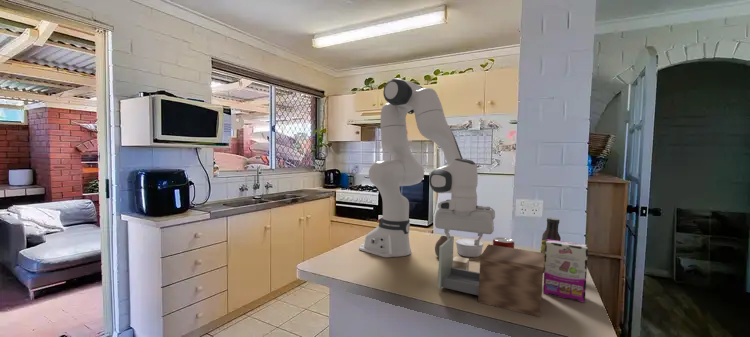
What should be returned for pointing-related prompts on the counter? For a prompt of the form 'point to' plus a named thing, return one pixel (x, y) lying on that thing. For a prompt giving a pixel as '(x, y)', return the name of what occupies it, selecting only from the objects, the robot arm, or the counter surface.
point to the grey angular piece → (455, 272)
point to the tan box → (511, 279)
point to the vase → (439, 243)
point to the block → (461, 263)
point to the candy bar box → (565, 269)
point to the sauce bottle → (550, 234)
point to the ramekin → (468, 248)
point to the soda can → (503, 242)
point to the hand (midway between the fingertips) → (463, 243)
